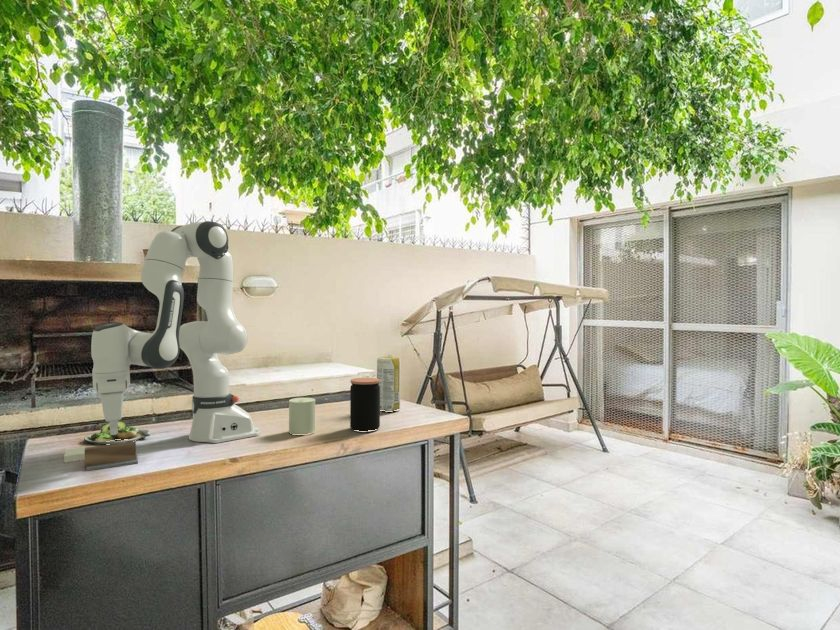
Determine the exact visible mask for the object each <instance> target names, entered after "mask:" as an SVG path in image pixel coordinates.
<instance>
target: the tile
mask: <svg viewBox="0 0 840 630" xmlns="http://www.w3.org/2000/svg"><path fill="white" fill-rule="evenodd" d="M94 446H95V445H90V446H89V445H88V446H80V447H71V448H65V451H64V455H63V456H64V458H63V463H64V462H66V463H72V462H71V461H73V462H79V460H80V461H85V447H94Z"/></svg>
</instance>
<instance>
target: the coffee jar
mask: <svg viewBox="0 0 840 630" xmlns="http://www.w3.org/2000/svg"><path fill="white" fill-rule="evenodd" d="M379 382H380V379H377V377H356V378H351V379H350V383H351V385H350V388H349V390H350V392H349V393H350V397H349V398H350V400H349V401H350V402H349V403H350V406H349V408H350V411H349V413H350V417H349V418H350V420H349V422H350V425H349V427H350V429H351V430H352V429H353V430H359V431H368V430H375V429H378V430H379V428H380V426H381V425H380V424H381V421H380V420H381V418H380V417H381V411H380V386H379ZM353 430H352V431H353Z"/></svg>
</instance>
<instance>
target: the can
mask: <svg viewBox="0 0 840 630" xmlns="http://www.w3.org/2000/svg"><path fill="white" fill-rule="evenodd" d="M288 410H289V411H288V412H289V413H288V416H289V417H288V434H289V433H291V434H308V433H312V432H314V431H316V398H313V397H295V398H291V399H289V400H288Z"/></svg>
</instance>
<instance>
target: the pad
mask: <svg viewBox="0 0 840 630" xmlns="http://www.w3.org/2000/svg"><path fill="white" fill-rule="evenodd" d="M138 464H139V458H138V454H136V460H129V461H122V462H115V463H107V464H100V465H93V466H86V468H85V469H86V471H87V470H89V471H95V470H94V469H96V470H101V469H100V468H103V469H107V468H106V467H110V468H114V467H113V466H117V467H124V466H129V465H138ZM87 472H88V471H87Z"/></svg>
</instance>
